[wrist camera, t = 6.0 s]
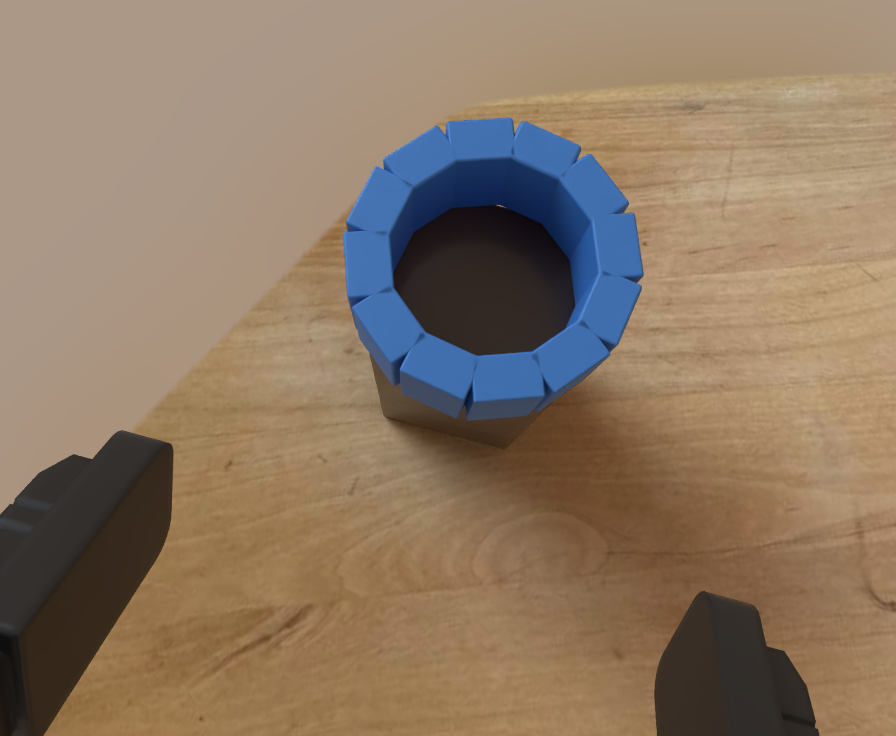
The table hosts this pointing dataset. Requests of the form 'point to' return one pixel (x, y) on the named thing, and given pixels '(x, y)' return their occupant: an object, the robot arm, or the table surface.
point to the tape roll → (521, 190)
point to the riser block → (480, 302)
